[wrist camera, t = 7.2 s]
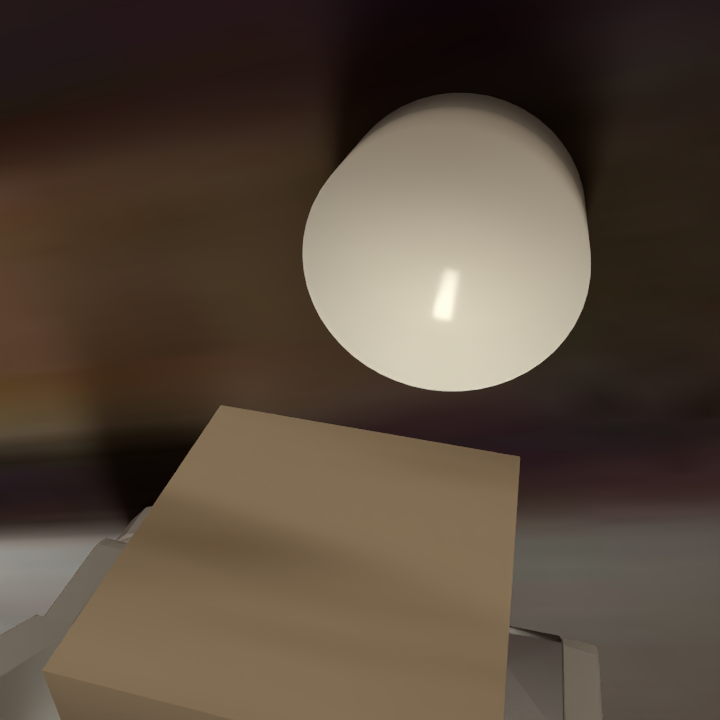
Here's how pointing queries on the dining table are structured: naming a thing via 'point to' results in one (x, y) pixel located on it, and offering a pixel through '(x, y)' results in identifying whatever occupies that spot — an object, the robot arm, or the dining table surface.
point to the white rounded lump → (451, 244)
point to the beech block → (304, 584)
